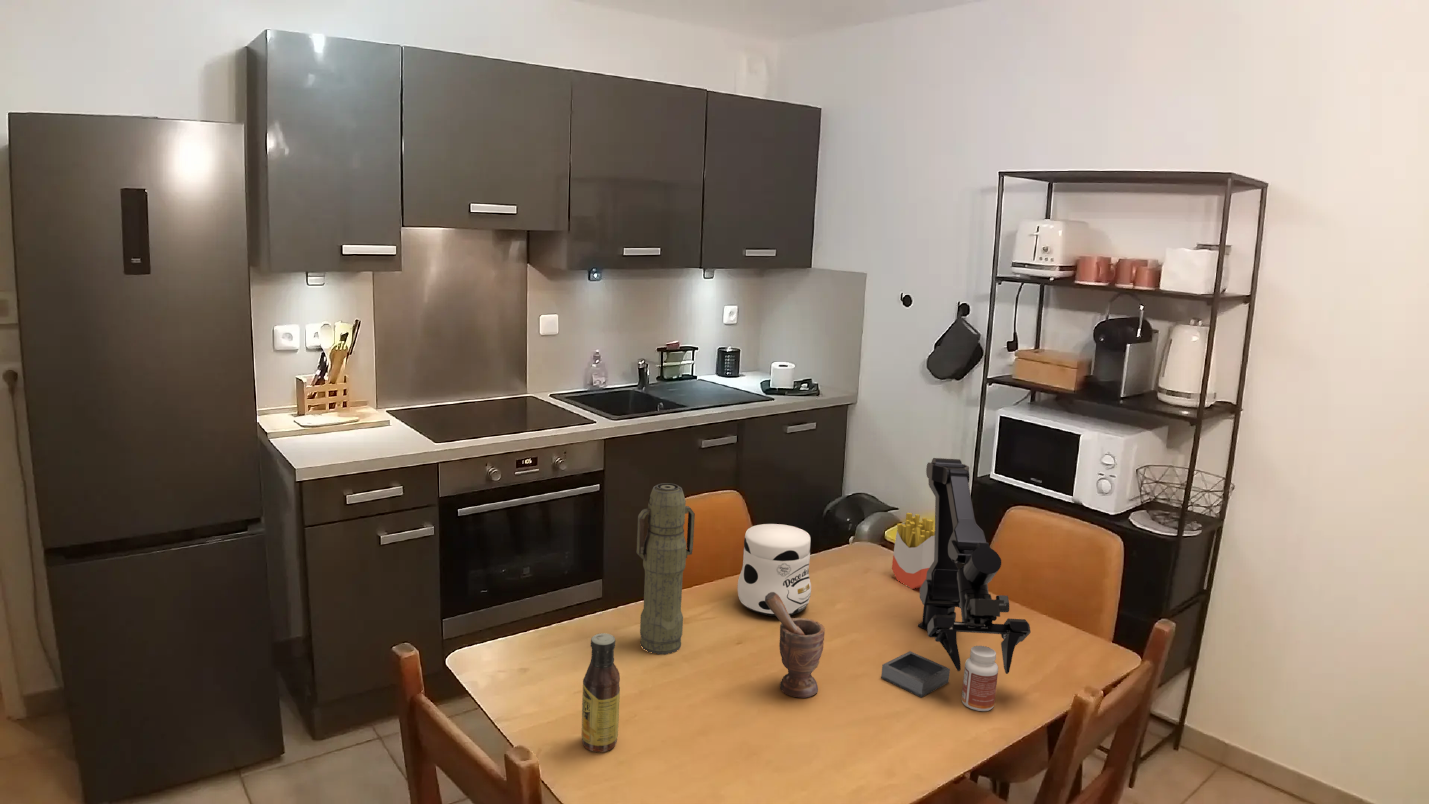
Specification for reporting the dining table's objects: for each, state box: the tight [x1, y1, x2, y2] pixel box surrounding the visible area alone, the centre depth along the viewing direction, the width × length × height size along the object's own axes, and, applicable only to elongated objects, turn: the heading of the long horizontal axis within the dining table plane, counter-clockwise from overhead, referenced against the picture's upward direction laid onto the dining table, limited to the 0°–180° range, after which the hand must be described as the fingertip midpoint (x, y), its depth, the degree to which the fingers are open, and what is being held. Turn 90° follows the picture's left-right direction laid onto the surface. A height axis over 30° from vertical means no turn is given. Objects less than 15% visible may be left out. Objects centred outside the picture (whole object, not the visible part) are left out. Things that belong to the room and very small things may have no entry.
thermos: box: [635, 482, 696, 655], centre depth 188 cm, size 9×12×35 cm
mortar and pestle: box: [765, 592, 826, 698], centre depth 174 cm, size 12×9×20 cm
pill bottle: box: [961, 645, 999, 712], centre depth 174 cm, size 6×6×11 cm
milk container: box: [737, 523, 812, 617], centre depth 212 cm, size 17×17×18 cm
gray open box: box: [880, 650, 951, 698], centre depth 182 cm, size 10×10×3 cm
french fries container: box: [891, 512, 935, 590], centre depth 231 cm, size 5×11×18 cm, turn 29°
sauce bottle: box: [581, 632, 621, 753], centre depth 152 cm, size 7×6×20 cm
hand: (983, 671), depth 172 cm, fingers open, 9 cm apart
